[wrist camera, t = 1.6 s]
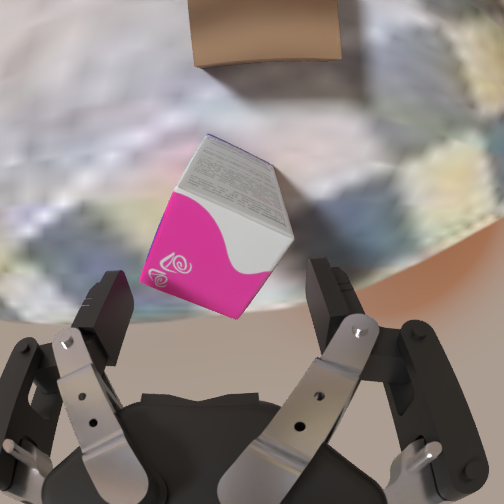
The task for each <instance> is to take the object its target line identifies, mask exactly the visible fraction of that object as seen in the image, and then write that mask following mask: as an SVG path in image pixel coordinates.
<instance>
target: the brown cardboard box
mask: <svg viewBox="0 0 504 504" xmlns="http://www.w3.org/2000/svg"><path fill="white" fill-rule="evenodd" d="M188 9H189V20H190V30H191V40H192V49H193V58H194V67H198V68H201V69H202V68H209V67H216V66H225V65H234V64H245V63H259V62H280V61H324V62H326V61H333V60H340V59H342V56H341V41H340V29H339V19H338V9H337V0H188Z"/></svg>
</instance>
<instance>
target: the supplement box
mask: <svg viewBox="0 0 504 504" xmlns="http://www.w3.org/2000/svg"><path fill="white" fill-rule="evenodd" d="M293 241H294V235H293V232H292V228H291V224H290V221H289V218H288V215H287V211H286V208H285V204H284V201H283V198H282V194H281V191H280V188H279V184H278V181H277V178H276V175H275V171H274V168H273V165H272V164H270V163H268V162H266V161H264V160H262V159H260V158H258V157H256V156H254V155H252V154H250V153H248V152H246V151H244V150H242V149H240V148H238V147H236V146H234V145H232V144H230V143H228V142H226V141H224V140H221V139H219V138H217V137H215V136H213V135H211V134H207V135H206V136H205V138H204V139H203V141H202V142H201V144H200V146H199V148H198V149H197V151H196V153H195V154H194V156H193V157H192V159H191V161H190V163H189V164H188V166H187V168H186V170H185V171H184V173H183V175H182V177H181V179H180V180H179V182H178V184H177V185H176V187H175V189H174V191H173V193H172V196H171V198H170V200H169V202H168V205H167V207H166V210H165V212H164V214H163V217H162V219H161V222H160V224H159V227H158V229H157V232H156V234H155V237H154V240H153V242H152V245H151V248H150V251H149V253H148V256H147V259H146V262H145V265H144V268H143V270H142V273H141V276H140V280H139V281H140V282H141V283H143V284H146V285H148V286H150V287H153V288H155V289H158V290H160V291H163V292H165V293H168V294H171V295H174V296H176V297H179V298H182V299H184V300H187V301H189V302H192V303H194V304H197V305H199V306H202V307H205V308H207V309H210V310H212V311H215V312H217V313H220V314H223V315H225V316H228V317H230V318H233V319H238V318H239V317H240V316H241V315H242V313H243V312H244V311H245V309H246V308H247V307H248V305H249V304H250V303H251V301H252V300H253V298H254V297H255V296H256V294H257V293H258V292H259V290H260V289H261V287H262V286H263V285H264V283H265V282H266V280H267V279H268V277H269V276H270V275H271V273H272V272H273V270H274V269H275V267H276V266H277V264H278V263H279V261H280V260H281V259H282V257H283V255H284V254H285V253H286V251H287V250H288V248H289V247H290V245H291V244H292V242H293Z"/></svg>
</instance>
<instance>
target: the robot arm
mask: <svg viewBox="0 0 504 504" xmlns="http://www.w3.org/2000/svg"><path fill="white" fill-rule="evenodd" d="M306 299H307V303H308V307H309V310H310V313H311V317H312V321H313V325H314V328H315V332H316V336H317V339H318V343H319V347H320V350H321V355H322V356H321V357H320V358H318V357H317V358H315V360H314V361H313V362H312V364H311V365H310V367H309V368H308V370H307V371H306V373H305V374H304V376H303V377H302V379H301V380H300V382H299V383H298V385H297V386H296V387H295V389H294V390H293V392H292V393H291V395H290V396H289V398H288V399H287V400H286V402H285V403H284V404H283V406H282V407H280V406H278V405H275V404H273V403H269V402H265V401H259V396H258V393H244V394H227V395H224V396H220V397H216V398H211V399H207V400H203V401H192V400H188V399H184V398H180V397H176V396H172V395H165V394H142V397H141V402H137V403H134V404H131V405H128V406H126V407H123V405H122V404H121V402H120V400H119V398H118V396H117V395H116V393H115V391H114V389H113V387H112V385H111V383H110V381H109V379H108V377H107V375H106V373H105V372H104V369H105V366H116V363H117V359H118V356H119V353H120V350H121V346H122V343H123V340H124V337H125V334H126V331H127V328H128V325H129V322H130V319H131V316H132V313H133V310H134V299H133V296H132V293H131V290H130V287H129V285H128V282H127V279H126V276H125V273H124V272H123V271H122V270H117V271H106V272H105V274H104V276H103V278H102V279H101V281H100V283H96V284H95V285H94V286H93V287H92V288H91V289H90V290H89V292H88V294H87V296H86V300H84V302H83V304H82V306H81V308H80V310H79V311H78V313H77V315H76V317H75V319H74V322H73V324H72V326H71V328H66V329H64V330H62V331H60V332H59V333H58V334H57V335H56V336H55V337H54V339H53V342H52V343H48V344H44V345H39V344H38V343H37V341H36V340H35V339H34V338H32V337H27V338H24V339H22V340H20V341H19V342H18V343H17V344H16V346H15V347H14V349H13V351H12V353H11V355H10V358H9V360H8V362H7V364H6V367H5V369H4V371H3V373H2V376H1V378H0V492H1V493H3V494H4V495H6V496H8V497H10V498H13V499H15V500H17V501H21V502H23V503H25V504H451V503H453V502H455V501H457V500H459V499H462V498H464V497H466V496H468V495H470V494H472V493H474V492H476V491H477V490H479V489H480V488H481V487H482V486H483V485H484V484H485V482H486V480H487V478H488V474H489V465H488V461H487V458H486V455H485V451H484V449H483V445H482V442H481V439H480V436H479V434H478V431H477V428H476V425H475V422H474V420H473V417H472V414H471V412H470V409H469V407H468V404H467V401H466V399H465V397H464V394H463V392H462V389H461V387H460V385H459V382H458V380H457V378H456V376H455V373H454V371H453V369H452V367H451V365H450V362H449V360H448V358H447V356H446V354H445V352H444V350H443V348H442V346H441V344H440V342H439V340H438V337H437V336H436V334H435V332H434V330H433V328H432V327H431V326H430V325H429V324H427V323H426V322H423V321H420V320H410V321H407V322H406V323H404V325H403V326H402V328H401V329H392V328H384V327H380V326H378V323H377V322H376V321H375V320H374V319H373V318H371V317H370V316H367V315H365V312H364V310H363V308H362V306H361V304H360V302H359V300H358V298H357V295H356V293H355V291H354V289H353V287H352V285H351V284H350V280H349V278H348V276H347V274H346V273H345V272H343V271H342V270H341V269H340V268H339V267H334V268H331V267H330V265H329V263H328V260H327V258H326V257H325V256H324V257H311V258H308V259H307V272H306ZM361 380H366V381H377V382H383V384H384V388H385V391H386V395H387V398H388V402H389V405H390V409H391V413H392V416H393V420H394V424H395V427H396V431H397V435H398V439H399V444H400V448H401V453H400V454H399V455H398V456H397V457H396V458H395V459H394V460H393V462H392V464H391V468H390V481H389V483H388V485H387V486H386V488H385V489H382V488H381V487H380V485H379V484H378V483H377V482H376V481H375V480H373V479H372V478H371V477H369V476H368V475H367V474H365V473H364V472H363V471H361V470H360V469H359V468H357V467H356V466H355V465H354V464H352V463H351V462H350V461H348V460H347V459H346V458H345V457H343V456H342V455H341V454H340V453H338V452H337V451H336V450H335V449H333V448H332V447H331V446H330V445H328V443H329V441H330V439H331V438H332V436H333V434H334V432H335V431H336V429H337V427H338V425H339V423H340V421H341V419H342V417H343V415H344V413H345V411H346V410H347V408H348V406H349V404H350V402H351V400H352V398H353V396H354V394H355V392H356V390H357V388H358V386H359V384H360V382H361ZM33 382H34V383H35V385H36V386H37V388H36V391H35V394H34V397H33V400H32V403H31V406H30V405H29V402H28V394H29V391H30V388H31V385H32V383H33ZM62 403H64V406H65V409H66V412H67V414H68V417H69V420H70V423H71V425H72V428H73V430H74V433H75V436H76V438H77V440H78V443H79V445H80V446H79V447H78V448H77V449H75V450H74V451H73V452H72V453H71V454H70V455H69V456H68V457H67V458H65V459H64V460H63V461H62V462H61V463H60V464H59V465H57V466H56V467H55V468H54V469H53V465H52V462H51V459H50V454H51V449H52V444H53V440H54V435H55V431H56V426H57V422H58V419H59V415H60V411H61V407H62Z"/></svg>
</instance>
